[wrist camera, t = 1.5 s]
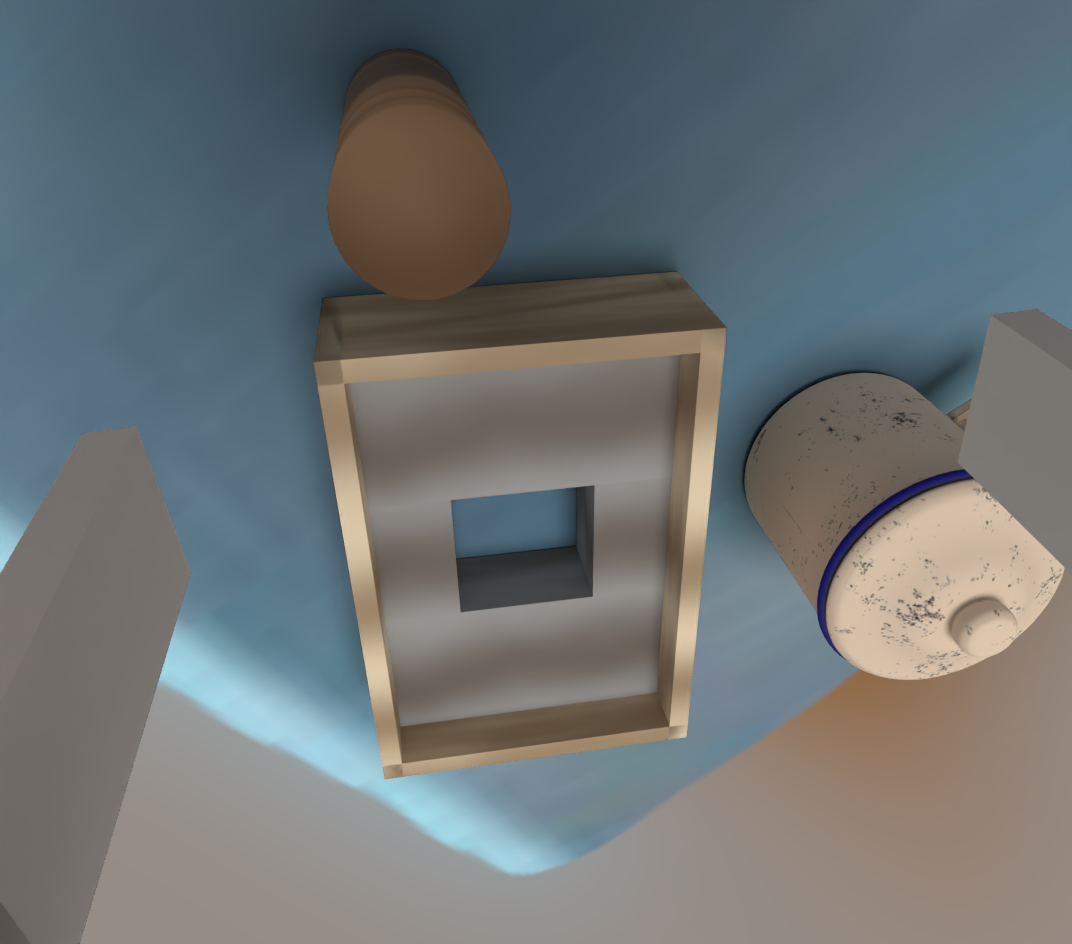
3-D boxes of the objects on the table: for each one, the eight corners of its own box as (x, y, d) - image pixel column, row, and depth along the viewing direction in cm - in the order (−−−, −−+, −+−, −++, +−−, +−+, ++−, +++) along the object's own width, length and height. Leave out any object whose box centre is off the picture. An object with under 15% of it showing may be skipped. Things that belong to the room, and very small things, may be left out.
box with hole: (322, 298, 31) (313, 362, 27) (677, 271, 33) (726, 327, 28) (383, 683, 41) (384, 779, 37) (652, 649, 43) (686, 736, 38)
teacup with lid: (803, 575, 42) (934, 772, 32) (695, 461, 37) (809, 650, 28) (1025, 414, 39) (1245, 578, 29) (937, 271, 34) (1160, 406, 25)
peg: (336, 51, 27) (314, 121, 17) (459, 46, 28) (507, 112, 18) (353, 176, 29) (341, 306, 19) (466, 170, 30) (513, 293, 20)
